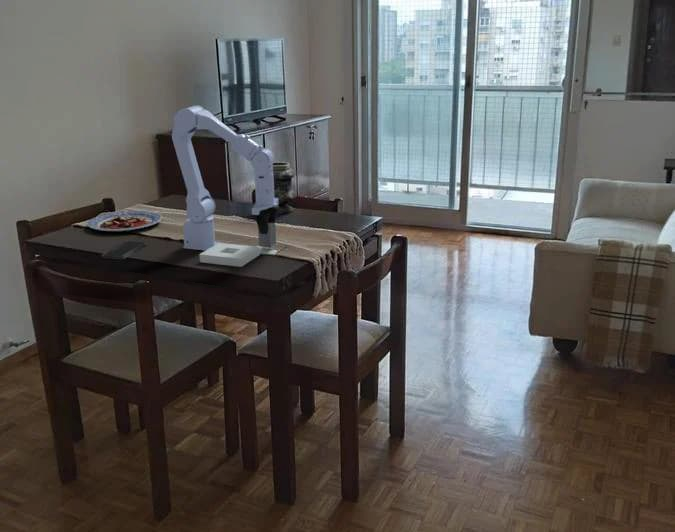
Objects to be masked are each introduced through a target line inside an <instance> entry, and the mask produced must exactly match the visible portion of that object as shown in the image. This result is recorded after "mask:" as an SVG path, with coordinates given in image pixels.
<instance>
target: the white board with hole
mask: <svg viewBox="0 0 675 532" xmlns="http://www.w3.org/2000/svg"><path fill="white" fill-rule="evenodd" d="M260 255H261V254H260V247H256V246H255V245H244V244H233V243H223V242H220V243H219V244H217V245H215V246H213V247H212V248H210V249H208V250H203V252H201V253H199V262H200V263H205V264H214V265H222V266H223V265H224V266H229V267H232V266H233V267H238V268H242V267H243V266H245V265H247V264H248V263H249V262H251V261H253V260H254V259H256V258H257V257H258V256H259V257H260Z"/></svg>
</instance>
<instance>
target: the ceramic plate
mask: <svg viewBox="0 0 675 532" xmlns="http://www.w3.org/2000/svg"><path fill="white" fill-rule="evenodd" d="M119 216H120V217H119ZM121 216H132V217H130V219H127V218H124V217H121ZM115 217H116V218H115ZM134 217H136V218H134ZM137 217H142V218H147V219H150V220H152V222H151V223H149V224H147V225H143V224H146V223H145V222H146V221H144V220H146V219H141V218H137ZM110 219H112V220H110ZM108 220H109V221H108ZM161 220H163V216H162V215H161V214H160V213H157V212H154V211H149V210H148V211H147V210H146V211H145V210H128V211H118V212H112V213H111V212H110V213H105V214H102V215H98V216H95V217H93V218H91V219H90V220H88V221H87V223H86V224H87V227H89V228H90V229H92V230H93V229H94V230H96V231H97V230H98V231H104V232H105V231H106V232H110V233H111V232H114V233H120V232H121V233H123V232H124V231H125V232H132V231H131V230H133V231H137V230H136V229H138V230H141V228H142V229H144V227H145V228H147V227H151V226H154V225H156V224H158V223H159V222H161ZM106 221H107V222H106ZM141 225H143V226H141ZM138 226H139V227H138ZM125 232H124V233H125Z"/></svg>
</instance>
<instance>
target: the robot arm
mask: <svg viewBox="0 0 675 532" xmlns="http://www.w3.org/2000/svg"><path fill="white" fill-rule="evenodd" d="M197 130H209V131H211V132H212V133H214V134H215V135H217V136H218V137H220V138H222V139H223V140H224V141H226V142H228V143H230V146H231V149H232V150H233V151H234V152H235V153H237V154H239V155H240V156H241V157H243V159H245V160H247V161H248V162H250V165H251V166H252V168H253V169H254V186H255V189H254V190H255V203H254V205H253V207H251V216H252V217H253V218H254V220H255V222H256V224H257V228H259V231H260V234H267V231H268V223H274V224H275V225H276V219H277V216H278V214H279V213H278V211H279V207H277V206H278V204H279V201H278V198H274V178H273V166H271V165H272V164H273V163H274V162H276V161H275V158H276V157H275V154H274V152H273V151H272V150H271V149H270V148H268V147H264V146H263V145H262V144H258V143H257V142H256V141H254V140H252V139H251V135H249V134H244V133H241V134H237V133H236V132H235V131H233V130H232V129H231V128H229V127H228V126H227V125H226V124H225V123H223V122H222V121H221V120H219V118H217V117H216V116H214V115H213V114H212V113H211V112H210V111H209V110H207V109H205V108H203V107H202V106H201V105H196V104H195V105H192V106H190V107H186V108H185V107H184V108H181V109H180V110H179V111H177V112H176V114H175V116H174V117H173V128H172V134H171V138H172V142H173V146H174V149H175V153H176V157H177V160H178V164H179V167H180V170H181V173H182V177H183V180H184V184H185V188H186V190H187V191H186V192H187V196H186V198H185V202H186V216H187V217H188V218H187V219H186V220H185V221H184V223H183V225H182V232H183V243H184V246H182V247H183V249H187V250H199V251H206V250H208V249H210V248H212V247H213V246H215V245H217V244H219V243H221V242H219V241H216V233H215V221H214V215H213V214H214V212H215V211H216V203H215V201H214V199H213V198H212V196H211V193H210V192H209V190H208V189H206V188H205V185H204V181H203V178H202V175H201V171H200V168H199V163H198V161H197V157H196V154H195V153H196V152H195V149H194V145H193V143H192V138H193V136H194V134H195V133H196V131H197ZM270 166H271V167H270Z"/></svg>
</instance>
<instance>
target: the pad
mask: <svg viewBox="0 0 675 532" xmlns="http://www.w3.org/2000/svg"><path fill="white" fill-rule="evenodd" d="M255 247H259V246H258V245H256V246H255ZM279 251H280V250H279ZM277 252H278V251H277V250H272V249H269V248H268V249H266V248H263V247H260V255H269V256H275V255H277V254H278V253H279V252H278V253H277ZM280 252H281V251H280ZM276 253H277V254H276Z"/></svg>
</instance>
